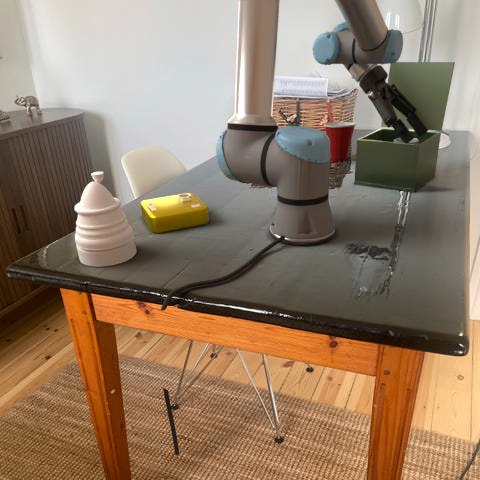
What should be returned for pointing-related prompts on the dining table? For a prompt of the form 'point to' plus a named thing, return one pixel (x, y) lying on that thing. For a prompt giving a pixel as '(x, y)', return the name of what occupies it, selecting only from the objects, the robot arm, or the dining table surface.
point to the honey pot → (102, 227)
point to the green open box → (396, 160)
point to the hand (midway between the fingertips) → (417, 137)
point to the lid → (423, 90)
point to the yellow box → (174, 212)
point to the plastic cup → (339, 139)
